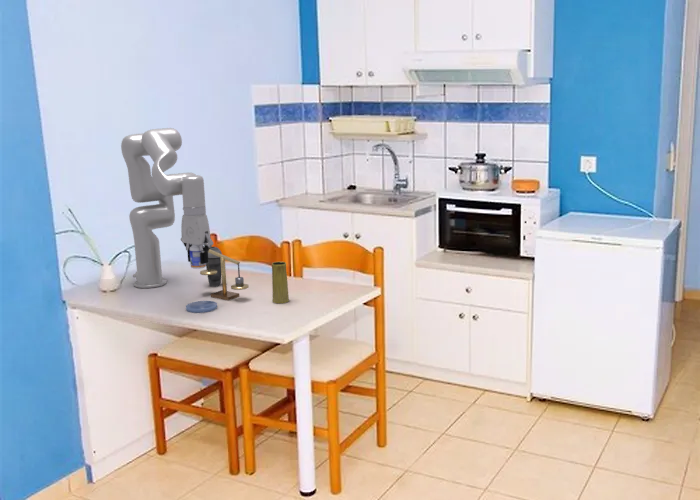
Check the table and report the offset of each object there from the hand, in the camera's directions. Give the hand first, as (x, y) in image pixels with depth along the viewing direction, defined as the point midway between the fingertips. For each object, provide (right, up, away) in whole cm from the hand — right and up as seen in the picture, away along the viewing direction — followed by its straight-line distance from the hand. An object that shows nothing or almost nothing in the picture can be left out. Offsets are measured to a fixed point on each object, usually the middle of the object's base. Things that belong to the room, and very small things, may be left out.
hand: (198, 261), depth 269 cm
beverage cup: (0, -10, +34) cm, 35 cm away
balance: (+7, -13, +17) cm, 23 cm away
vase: (+28, -15, +10) cm, 33 cm away
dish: (+1, -17, +4) cm, 17 cm away
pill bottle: (0, -2, 0) cm, 2 cm away
